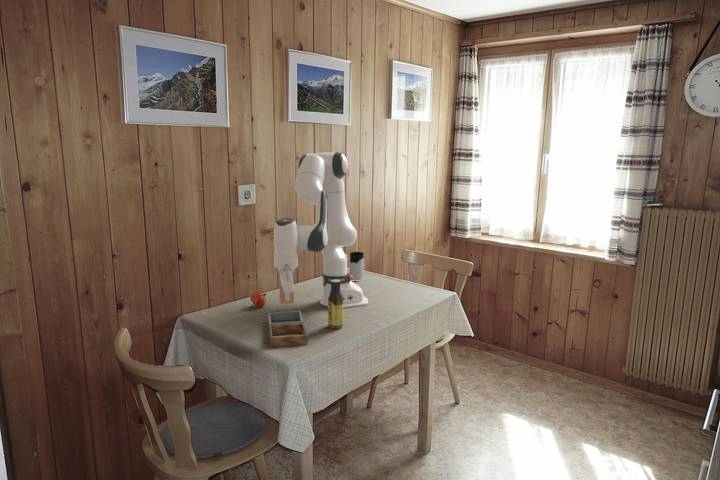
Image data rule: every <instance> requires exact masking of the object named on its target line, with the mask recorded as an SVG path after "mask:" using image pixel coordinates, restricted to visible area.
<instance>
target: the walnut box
mask: <svg viewBox="0 0 720 480" xmlns="http://www.w3.org/2000/svg"><path fill="white" fill-rule="evenodd" d="M268 329H269V330H270V332H269V343H270V348H274V347H275V348H276V346H277V347H287V346H289V347H290V346H300V345H301V346H302V345H308V333H307V329H306V326H305V322H304V323H295V324H280V325H269V324H268ZM269 330H268V331H269ZM293 333H295V334H296V335H294V334H293ZM297 333H302V334H297ZM278 334H279V335H280V334H281V335H282V334H293V335H282V336H273V335H278Z"/></svg>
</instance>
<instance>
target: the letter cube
mask: <svg viewBox="0 0 720 480" xmlns="http://www.w3.org/2000/svg"><path fill="white" fill-rule="evenodd" d="M278 289H279V290H278V291H279V304H280V305H288V304H290V305H291V304H295V303H294V302H295V300H294V299H295V297H294V292H295V291H294V289H293V292H292V293H290V300H289V301H285V293H284V292H283V289H282V287H279V288H278Z"/></svg>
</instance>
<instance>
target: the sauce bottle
mask: <svg viewBox="0 0 720 480" xmlns="http://www.w3.org/2000/svg"><path fill="white" fill-rule="evenodd" d="M340 284H341V281H340V280H338V279H334V280H331V292H330V295H329V298H328V306H327V324H328V327H329V328H330V329H332V330H333V329H334V330H336V329H337V330H338V329H341V328H343V326H344V308H343V295H342V294H341V292H340Z"/></svg>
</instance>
